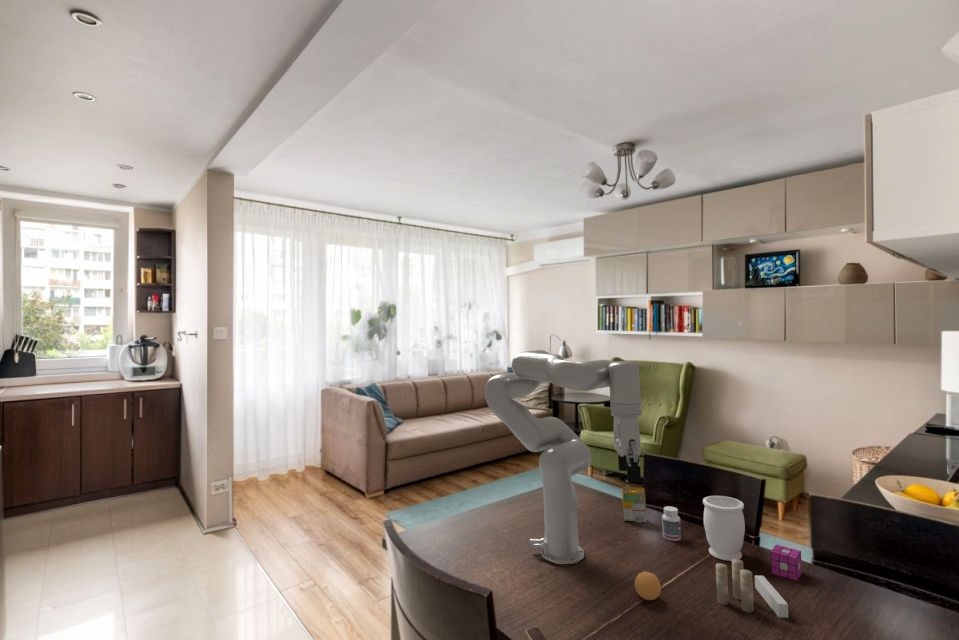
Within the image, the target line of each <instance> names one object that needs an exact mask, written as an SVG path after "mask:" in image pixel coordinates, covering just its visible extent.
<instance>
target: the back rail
mask: <svg viewBox="0 0 959 640" xmlns="http://www.w3.org/2000/svg"><path fill="white" fill-rule="evenodd" d="M754 589H756V590H757V592H758V593H759V594H760V595H761V597H762V599H764V601H765V602H766V603H767V604H768V605H769V607H770V608H771V610H772V611H774V613H775V615H776V616H777V618H786V619H787V618H788V619H789V604H788V602H787V601H786V600H785V599H784V598H783V597H782V596H781V594H780V593H779V592H778V591H777V590H776V589H775V588H774V586H773V585H772V584H771V583H770V582H769V581H768V580H767V578H766V577H765V576H764V575H754Z"/></svg>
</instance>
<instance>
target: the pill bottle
mask: <svg viewBox="0 0 959 640" xmlns="http://www.w3.org/2000/svg"><path fill="white" fill-rule="evenodd" d="M678 513H679V509H678V508H677V507H674V506H664V507H663V514H662V516H661V523H662V537H663V539H666V540H667V541H671V542H672V541H673V542H675V541H680V540H682V530H681V529H682V528H681V517H680V516H679V514H678Z"/></svg>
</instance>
